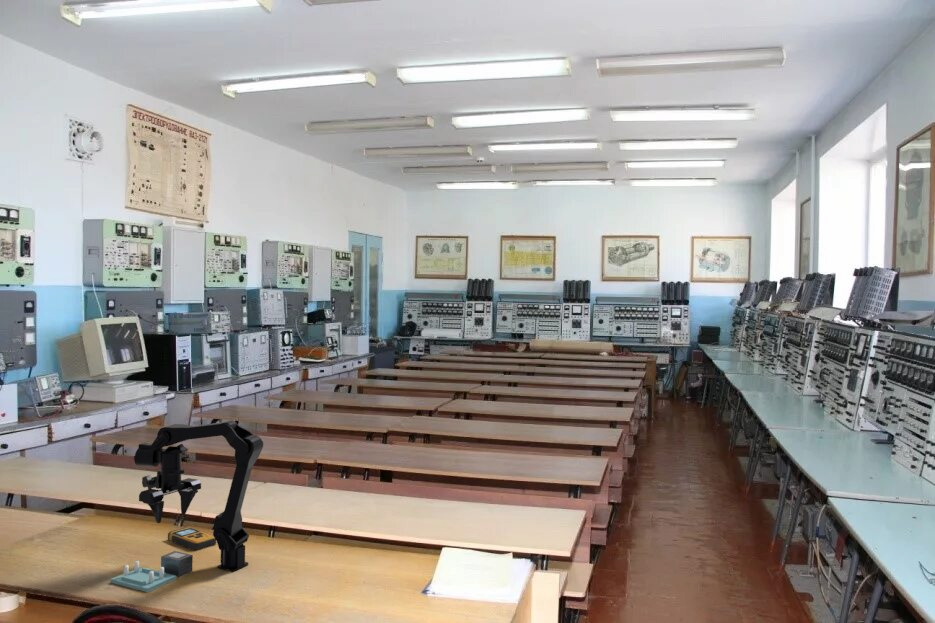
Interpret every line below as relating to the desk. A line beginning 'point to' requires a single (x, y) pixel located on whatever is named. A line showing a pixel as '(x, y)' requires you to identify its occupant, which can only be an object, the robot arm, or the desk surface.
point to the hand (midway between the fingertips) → (171, 518)
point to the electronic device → (191, 538)
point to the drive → (177, 563)
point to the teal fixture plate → (143, 578)
